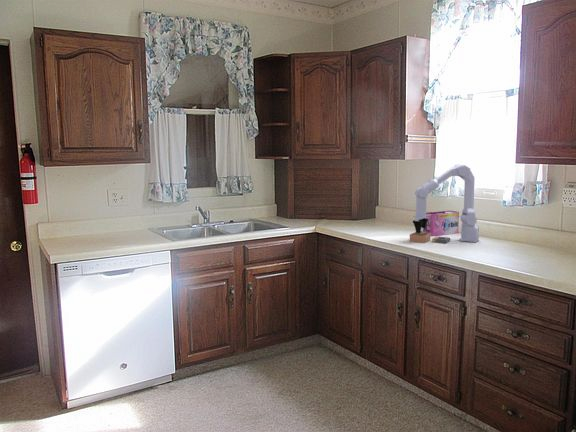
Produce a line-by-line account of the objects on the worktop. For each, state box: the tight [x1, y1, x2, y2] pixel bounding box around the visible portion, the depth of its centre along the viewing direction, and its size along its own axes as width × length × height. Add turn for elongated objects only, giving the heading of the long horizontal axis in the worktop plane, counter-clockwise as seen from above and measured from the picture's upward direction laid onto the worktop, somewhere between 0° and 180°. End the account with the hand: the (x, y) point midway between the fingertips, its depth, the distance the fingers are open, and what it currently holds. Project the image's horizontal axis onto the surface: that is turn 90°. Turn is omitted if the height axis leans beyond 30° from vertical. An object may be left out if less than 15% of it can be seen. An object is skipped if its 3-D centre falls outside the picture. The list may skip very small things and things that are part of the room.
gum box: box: [423, 210, 460, 237], centre depth 312 cm, size 24×8×14 cm, turn 120°
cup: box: [409, 231, 432, 244], centre depth 291 cm, size 9×9×4 cm
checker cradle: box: [431, 236, 451, 244], centre depth 288 cm, size 8×8×2 cm
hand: (420, 232), depth 290 cm, fingers open, 7 cm apart
